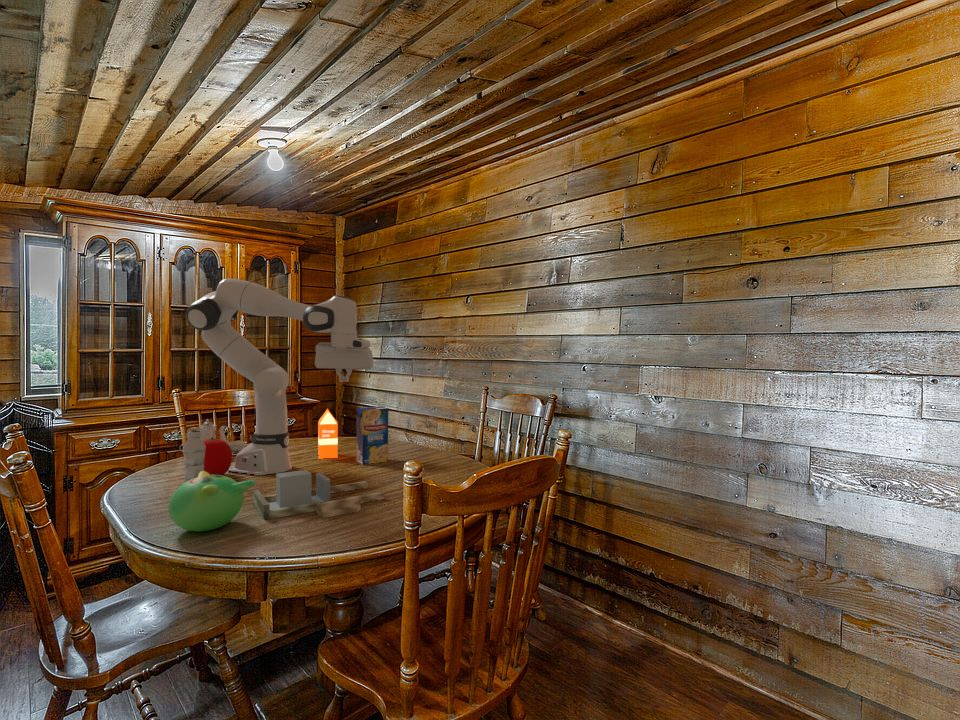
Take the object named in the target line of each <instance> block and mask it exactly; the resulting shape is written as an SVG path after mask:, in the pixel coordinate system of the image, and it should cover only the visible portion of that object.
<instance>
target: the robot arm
mask: <svg viewBox="0 0 960 720" xmlns="http://www.w3.org/2000/svg"><path fill="white" fill-rule="evenodd" d="M356 302H357V301H355V300H354V298H352V297H348V296H344V295H339V294H338V295H337V294H336V295H333V296H332V297H331V298H330V299H327V300H325V301H324V302H321V303H317V304H313V305H311V304H310V305H309V304H306V303H302V302H298V301H295V300H293V299H290V298H288V297H286V296H284V295H282V294H280V293H278V292H276V291H274V290H273V289H270V288H268V287H266V286H263V285H261V284H258V283H255V282H252V281H248V280H243V279H237V278H229V277H228V278H227V277H226V278H224V279H222V280H221V281H220V282H219V283H218V284H217V287H216V290H215V291H212V292H209V293H206V294H205V295H203V296H202V297H201V298H199V299H198V300H196V301H193V302H192V303H191V304H190V305H189V306H188V307H187V308H186V311H185V318H186V320H187V322H188V323H189V325H190V326H191V327H192V328H194V329H195V330H198V331H201V333H200V336H201V339H202V341H203V342H204V343H205V345H207V346H208V347H207V348H209V349H210V350H211V352H213V353H214V354H215V355H216V356H217V357H219V359H220V360H222V361H223V362H224V363H225V364H227V365H228V366H229V367H230V368H231V369H232V370H234V371H235V372H236V373H238V374H240V375H241V376H243V377H244V378H246V379H248V380H249V381H250V382H252V386H253V397H254V399H253V400H254V406H255V420H256V421H255V424H256V425H255V432H254V433H253V434H251V435H249V440H251V443H249V444H248V445H247V446H246V447H245V448H244V449H243V450H242V451H240V452H239V453H238V454H237V455H235V460H234V464H233V465H231V466H230V468H229V470H228V471H232V472H239V473H238V474H241V473H247V474H246V475H250V474H254V475H253V476H259V475H260V476H266V475H271V474H277V473H285V472H289V471H290V470H292V469H293V466H292V463H291V458H290V454H289V453H290V452H289V443H290V435H289V434H290V433H289V431H288V407H287V388H288V386H289V385H290V384H289V383H290V377H289V373H288V372H287V370H285V369H284V368H283V367H281V366H280V365H279V364H278V363H277V362H275V361H274V360H273V359H271V358H270V357H269V356H267V354H265V353H263V352H262V351H261V350H259V349H258V348H257V347H256V346H254V344H252V343H251V342H250V341H249V340H247V339H246V338H245V337H244V336H243V335H242V334H241V333H239V332H238V331H237V330H236V329H235V328H234V327H233V326H232V322H233V321H235V320H236V318H237V315H238V313H239V312H241V313H244V314H247V315H252V316H257V317H258V316H259V317H285V318H291V319H294V320H298V321H300V322H302V323H303V325H304V326H305V327H306V329H307V330H309V331H311V332H314V333H323V334H330V341H325V342H324V341H319V342H318V343H316V345H315V358H314V366H315V367H316V368H317V369H335V373H336V374H337V376H338V382H340V383H343V382H344V383H348V382H349V380H350V376H351V374H352V373H353V370H371V369H372V368H373V367H374V356H373V351H372V350H371V349H370V347H371V342H370V341H368V340H366V339H362V338H360V337H358V331H357V324H358V309H357V308H358V307H357V303H356ZM343 370H345V372H346V374H345V376H343V374H342V371H343ZM228 471H227V472H228ZM232 472H231V473H232Z"/></svg>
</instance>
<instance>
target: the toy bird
mask: <svg viewBox="0 0 960 720" xmlns="http://www.w3.org/2000/svg"><path fill="white" fill-rule="evenodd" d="M183 483H184V482H183ZM183 483H182V484H181V485H179V487H178V488H176V490H175V491H174V492H173V494H172V495H171V497H170V499H169V501H168V502H169V503H168V514H169V517H170V519H171V520H172V522H173V523H174V524H175V525H176V526H177V527H179V528H181V529H183V530H185V531H189V532H199V533H200V532H208V531H211V530H215V529H218V528H219V529H220V528H221V527H223V526H225V525H226V524H227V525H228V523H230V522H231V521H232V520H234V518H235V517H236V516H237V515H238V514H239V512H240V511H241V509H242V507H243V505H244V504H243V503H244V496H245V495H244V493H245V492H246V491H247V490H250V489H251V488H252V487H254V485H256V484H257V479H248V480H243V481H239V482H237V481H236V480H235V479H233V478H231V477H229V476H226V475H210V474H209V473H207V472H206V471H201V472H200V473H199V474H198V477H196V478H193V479H191V480H189V481H187V482H185V483H184V484H183Z"/></svg>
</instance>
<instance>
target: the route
mask: <svg viewBox="0 0 960 720" xmlns="http://www.w3.org/2000/svg"><path fill="white" fill-rule="evenodd" d="M362 488H363V489H368V481H367V480H363V481H357V482H349V483H343V484H335V485H330V493H331V494H336V492H337V493H343V491H344V492H349V490H350V491H356V490H355V489H357V490H362ZM311 496H316V487H315V488H312V493H311ZM381 499H384V500H385V492H384V491H381V492H380V491H379V492H373V493H367V494H366V493H365V494H361V495H354V496H347V497H345V498H341V499H335V500H330V501H328V502H322V503H320V502H316V503H310V504H304V505H297V506H291V507H285V508H279V509H272V510H270V505H269V503H271V502H276V493H272V494H267V495H262V493H261V492H260V491H259V489H256V490H252V505H253V507H255V509H256V510H257V512H258V513H259V515H260V516H261V518H262V519H263V521H264V520H269V519H270V520H271V519H275V518H281V517H288V516H294V515H299V514H304V513H313V512H316V513H317V514H318V515H319V516H320V517H321V518H323V519H327V518H329V517H330V518H331V517H338V516H342V514H343V515H348V513H349V514H353V513H352V512H354V513H359V511H360V512H361V504H365V503H364V502H366V503H370V502H369V501H372V502H376V501H375V500H378V501H382V500H381Z"/></svg>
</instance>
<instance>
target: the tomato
mask: <svg viewBox="0 0 960 720" xmlns="http://www.w3.org/2000/svg"><path fill="white" fill-rule="evenodd" d="M203 442H204V444H205V446H206V450H205V457H204V471H206V472H207V473H209V474H210V475H223V476H225V474H226V473H228V470H229V468H230V467H231V466H232V462H233V455H232V451H231V448H230V446H229V445H228V444H227V442H228V441H227V442H225V441H224V440H221V439H220V438H216V439H213V437H211V439H208V440H205V441H204V440H203Z"/></svg>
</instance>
